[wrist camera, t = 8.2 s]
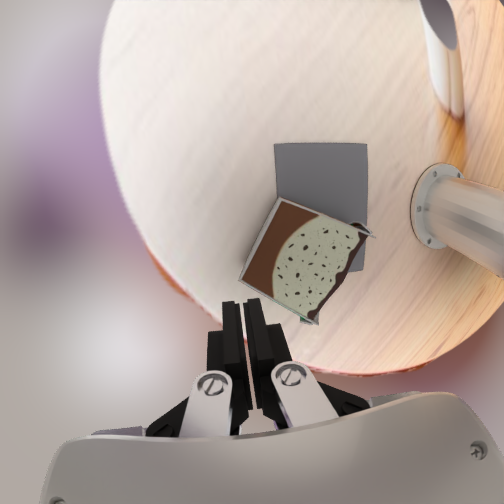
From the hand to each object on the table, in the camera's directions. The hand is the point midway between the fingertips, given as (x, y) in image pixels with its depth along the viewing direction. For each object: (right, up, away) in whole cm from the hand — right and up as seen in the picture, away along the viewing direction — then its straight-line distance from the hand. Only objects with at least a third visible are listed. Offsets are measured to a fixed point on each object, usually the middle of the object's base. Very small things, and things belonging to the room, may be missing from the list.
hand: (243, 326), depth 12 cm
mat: (+9, +8, +18) cm, 22 cm away
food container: (+1, +6, +17) cm, 17 cm away
